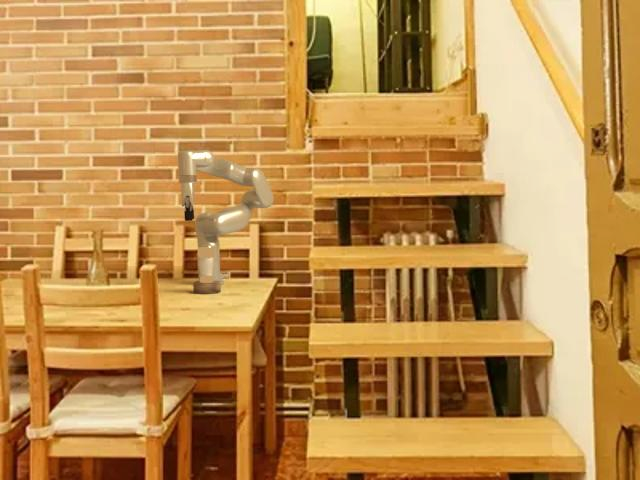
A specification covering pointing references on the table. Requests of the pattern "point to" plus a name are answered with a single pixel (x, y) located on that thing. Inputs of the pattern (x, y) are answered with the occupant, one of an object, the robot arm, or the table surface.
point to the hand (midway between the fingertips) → (189, 219)
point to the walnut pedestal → (206, 288)
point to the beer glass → (206, 263)
